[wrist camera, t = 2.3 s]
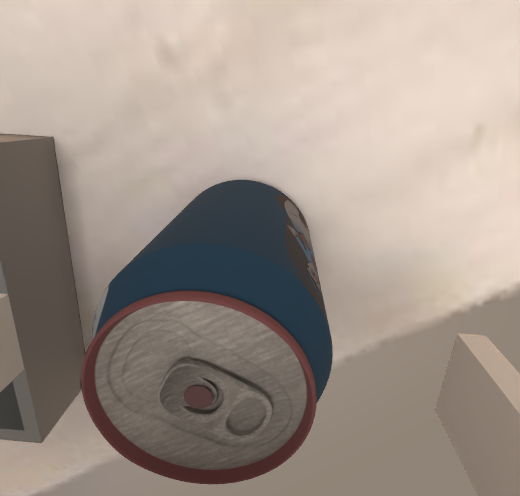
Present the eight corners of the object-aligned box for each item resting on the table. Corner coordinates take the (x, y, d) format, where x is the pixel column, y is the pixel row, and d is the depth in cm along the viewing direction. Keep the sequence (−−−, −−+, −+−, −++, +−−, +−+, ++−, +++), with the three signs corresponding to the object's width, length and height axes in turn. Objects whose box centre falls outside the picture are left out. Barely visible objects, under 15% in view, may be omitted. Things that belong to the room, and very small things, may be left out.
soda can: (165, 259, 21) (23, 436, 9) (216, 150, 18) (109, 212, 7) (270, 312, 21) (256, 534, 10) (333, 214, 19) (404, 362, 8)
